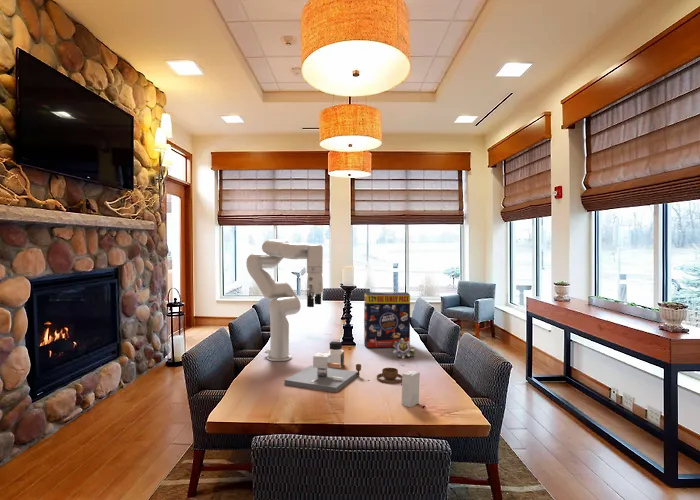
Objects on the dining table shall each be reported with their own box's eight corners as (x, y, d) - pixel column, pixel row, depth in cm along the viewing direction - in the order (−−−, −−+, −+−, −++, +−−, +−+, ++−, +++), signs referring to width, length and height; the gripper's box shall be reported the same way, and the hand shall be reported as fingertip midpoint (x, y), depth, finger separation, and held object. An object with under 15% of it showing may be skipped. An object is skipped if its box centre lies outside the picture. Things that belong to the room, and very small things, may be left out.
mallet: (338, 369, 189) (338, 358, 189) (313, 367, 191) (313, 356, 191) (342, 365, 195) (342, 354, 195) (317, 363, 198) (317, 352, 198)
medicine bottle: (340, 368, 212) (341, 343, 212) (326, 367, 214) (326, 342, 214) (344, 364, 219) (344, 340, 219) (330, 363, 221) (330, 339, 221)
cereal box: (406, 343, 267) (406, 291, 267) (411, 347, 255) (411, 292, 256) (363, 344, 264) (363, 291, 264) (366, 348, 252) (366, 293, 253)
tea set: (388, 388, 186) (388, 374, 186) (353, 378, 200) (353, 365, 199) (411, 379, 199) (412, 366, 199) (377, 370, 212) (377, 358, 212)
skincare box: (409, 400, 170) (410, 369, 170) (419, 403, 167) (420, 371, 167) (400, 405, 165) (401, 373, 165) (411, 408, 163) (411, 375, 162)
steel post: (315, 376, 193) (315, 367, 193) (319, 373, 197) (320, 364, 197) (324, 377, 191) (324, 368, 191) (328, 375, 195) (328, 366, 195)
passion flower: (402, 368, 232) (391, 351, 229) (397, 359, 243) (386, 343, 239) (420, 357, 232) (409, 339, 229) (414, 348, 243) (403, 331, 240)
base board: (284, 384, 187) (284, 379, 187) (310, 369, 210) (310, 365, 210) (335, 392, 178) (335, 387, 178) (357, 376, 200) (357, 371, 200)
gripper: (315, 271, 202) (315, 308, 202) (328, 269, 219) (327, 303, 219) (300, 270, 204) (299, 307, 205) (313, 268, 221) (313, 302, 221)
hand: (314, 305), depth 212 cm, fingers open, 9 cm apart
